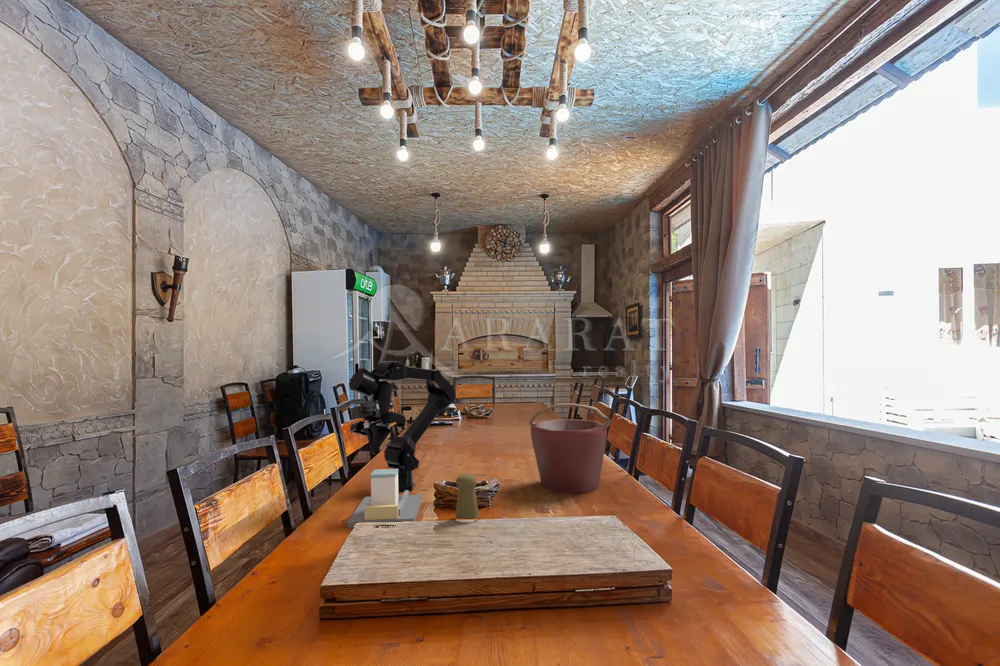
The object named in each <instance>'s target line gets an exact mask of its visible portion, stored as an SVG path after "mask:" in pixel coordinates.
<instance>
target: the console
mask: <svg viewBox="0 0 1000 666" xmlns="http://www.w3.org/2000/svg"><path fill="white" fill-rule="evenodd" d="M409 491H410V490H405V491H404V492H403V494H398V498H399V504H398V505H379V506H371V495H370V496H365V497H364V498H363V499H362V500H361V502H360V503H359V505H358V506H357V508H356V509H355V511H353V513H352V515H351V516H350V517H349V519H348V521H347V528H348V529H350V528H353V526H354V525H355V524H356V523H359V522H402V521H415V522H416V520H415V519H417V517H418V513H419V510H420V507H421V504H422V501H423V494H421V493H420V494H419V493H417V494H416V493H415V494H409ZM416 516H417V517H416Z"/></svg>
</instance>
